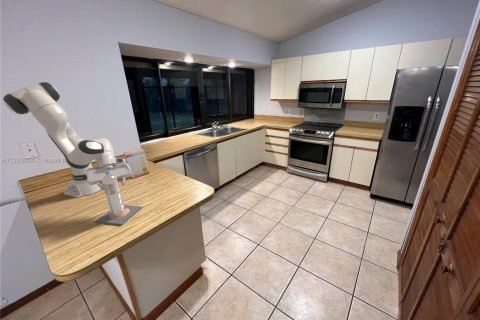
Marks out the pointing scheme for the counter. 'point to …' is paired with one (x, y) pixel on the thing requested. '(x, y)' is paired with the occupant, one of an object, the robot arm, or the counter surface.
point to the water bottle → (113, 194)
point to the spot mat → (121, 219)
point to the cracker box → (137, 162)
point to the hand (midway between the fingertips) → (113, 187)
